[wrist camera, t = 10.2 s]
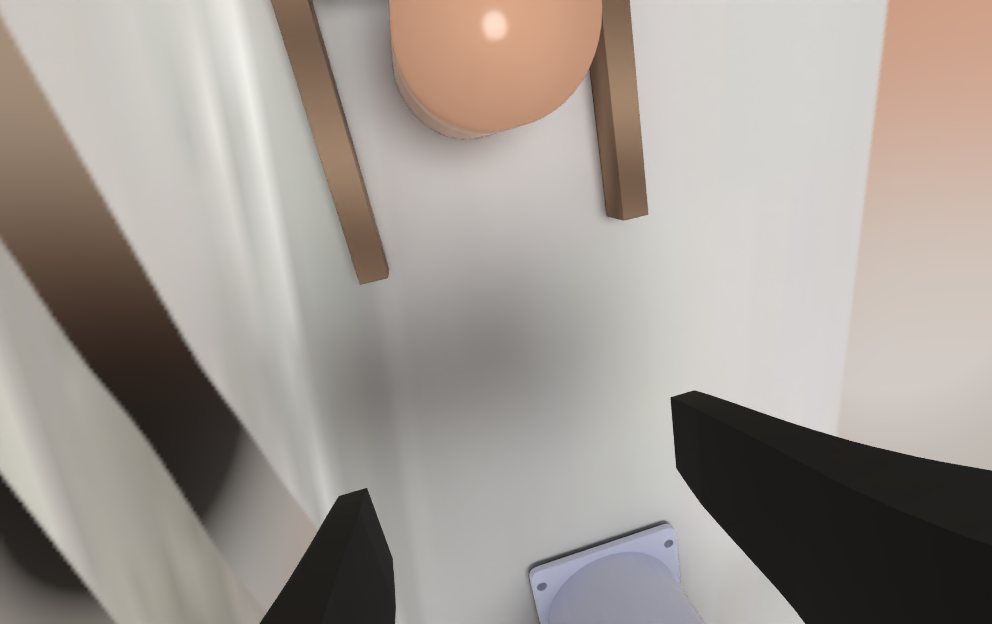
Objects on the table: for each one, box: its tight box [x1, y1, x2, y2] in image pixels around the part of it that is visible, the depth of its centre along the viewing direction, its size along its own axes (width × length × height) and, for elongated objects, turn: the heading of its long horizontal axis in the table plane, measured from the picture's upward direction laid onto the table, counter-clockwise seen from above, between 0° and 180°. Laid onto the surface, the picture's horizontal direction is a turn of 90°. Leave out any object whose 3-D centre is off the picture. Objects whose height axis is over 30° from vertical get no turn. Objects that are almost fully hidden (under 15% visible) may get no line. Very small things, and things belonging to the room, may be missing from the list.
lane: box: [271, 0, 648, 285], centre depth 15 cm, size 14×11×2 cm
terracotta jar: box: [389, 0, 602, 139], centre depth 14 cm, size 5×5×6 cm
